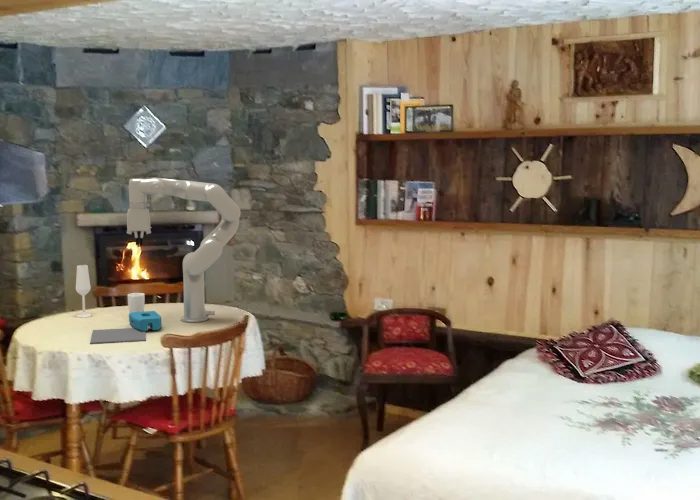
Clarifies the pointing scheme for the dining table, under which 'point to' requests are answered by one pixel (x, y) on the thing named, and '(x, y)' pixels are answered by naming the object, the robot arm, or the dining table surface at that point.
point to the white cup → (136, 302)
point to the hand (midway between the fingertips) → (139, 246)
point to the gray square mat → (117, 335)
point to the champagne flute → (83, 286)
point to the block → (145, 320)
